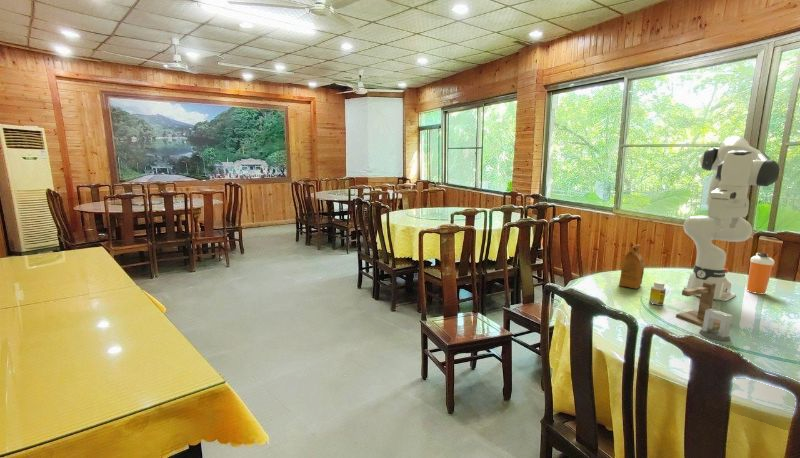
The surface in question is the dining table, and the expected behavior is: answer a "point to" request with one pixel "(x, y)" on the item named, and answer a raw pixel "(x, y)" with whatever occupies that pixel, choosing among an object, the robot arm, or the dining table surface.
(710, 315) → the c link
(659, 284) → the supplement bottle
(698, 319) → the hook stand
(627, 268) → the coffee package
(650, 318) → the dining table surface
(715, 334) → the felt pad
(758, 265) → the shaker bottle
